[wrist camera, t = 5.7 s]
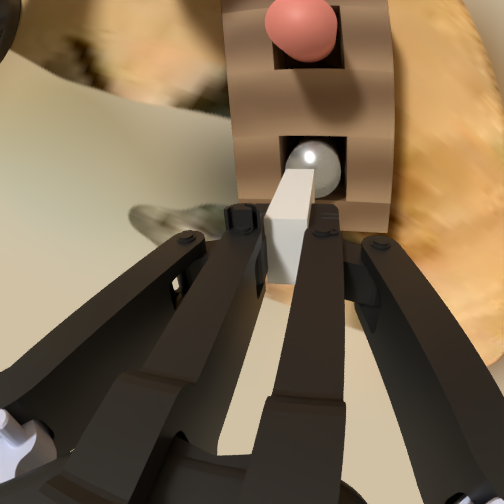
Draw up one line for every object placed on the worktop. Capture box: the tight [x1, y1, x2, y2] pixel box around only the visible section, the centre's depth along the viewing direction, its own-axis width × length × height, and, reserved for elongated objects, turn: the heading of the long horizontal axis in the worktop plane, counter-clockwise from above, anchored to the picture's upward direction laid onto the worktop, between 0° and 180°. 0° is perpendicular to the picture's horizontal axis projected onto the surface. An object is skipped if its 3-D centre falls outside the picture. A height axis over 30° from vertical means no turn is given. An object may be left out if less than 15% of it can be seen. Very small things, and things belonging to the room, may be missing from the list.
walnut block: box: [221, 0, 395, 233], centre depth 23 cm, size 20×12×6 cm, turn 5°
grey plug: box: [285, 136, 341, 198], centre depth 24 cm, size 4×4×6 cm
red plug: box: [265, 0, 337, 63], centre depth 16 cm, size 4×4×6 cm
